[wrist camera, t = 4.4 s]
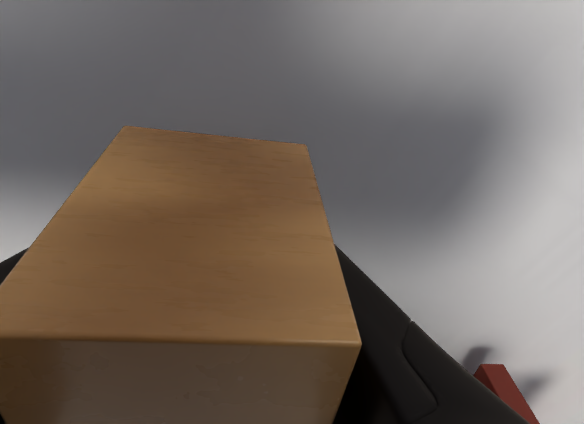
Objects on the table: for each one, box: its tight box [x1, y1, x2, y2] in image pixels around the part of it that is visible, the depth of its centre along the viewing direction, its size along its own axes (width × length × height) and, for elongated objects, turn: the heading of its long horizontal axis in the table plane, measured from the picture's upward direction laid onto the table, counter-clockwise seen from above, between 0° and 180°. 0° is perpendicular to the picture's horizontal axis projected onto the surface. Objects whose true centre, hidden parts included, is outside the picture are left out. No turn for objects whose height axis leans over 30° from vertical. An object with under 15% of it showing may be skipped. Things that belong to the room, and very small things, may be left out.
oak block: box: [0, 126, 362, 424], centre depth 7 cm, size 4×4×6 cm
